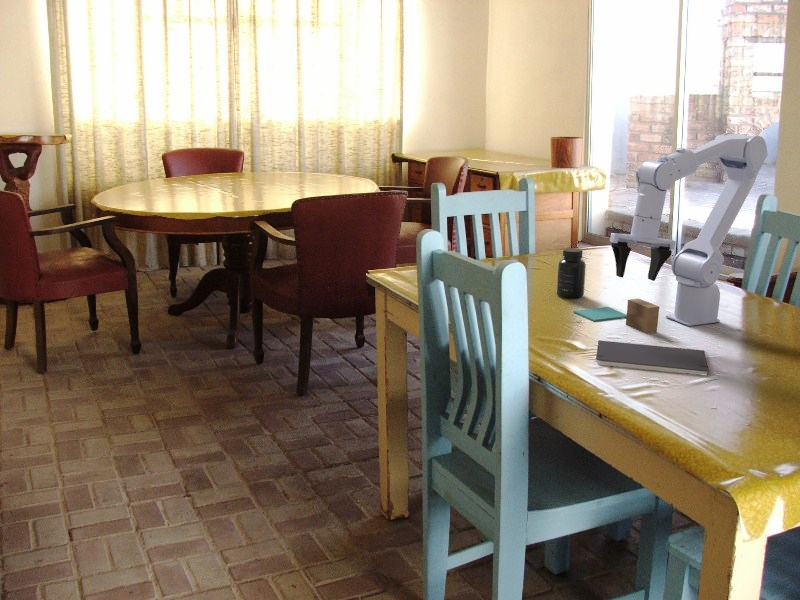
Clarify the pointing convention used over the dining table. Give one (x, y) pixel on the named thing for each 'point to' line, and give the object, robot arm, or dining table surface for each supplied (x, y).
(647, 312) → the brown block
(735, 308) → the dining table surface
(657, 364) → the notebook
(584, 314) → the teal mat
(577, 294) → the supplement bottle
